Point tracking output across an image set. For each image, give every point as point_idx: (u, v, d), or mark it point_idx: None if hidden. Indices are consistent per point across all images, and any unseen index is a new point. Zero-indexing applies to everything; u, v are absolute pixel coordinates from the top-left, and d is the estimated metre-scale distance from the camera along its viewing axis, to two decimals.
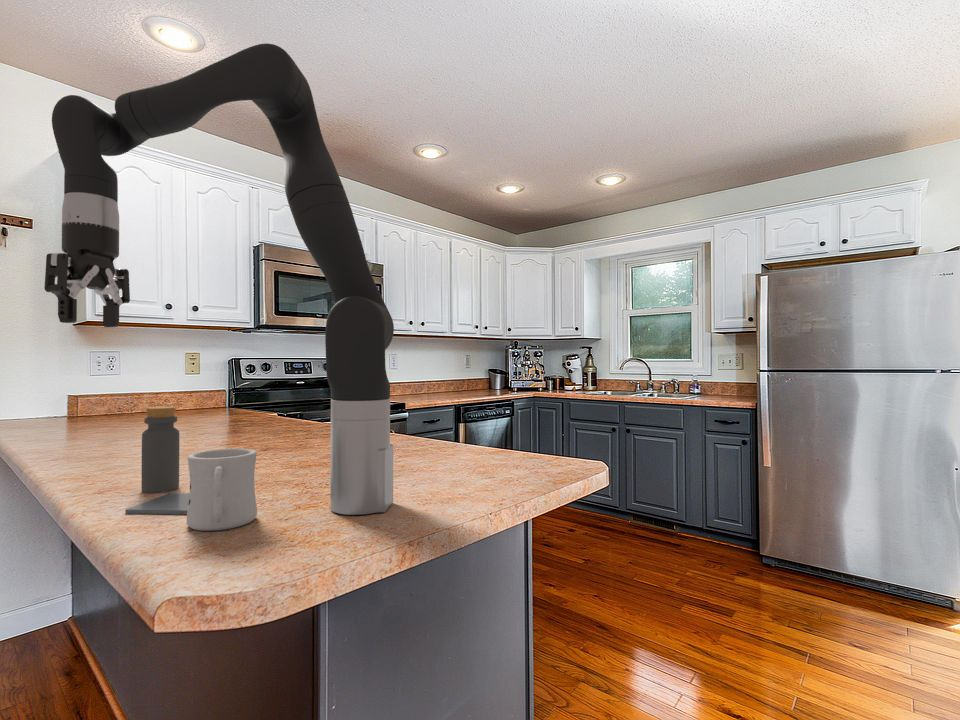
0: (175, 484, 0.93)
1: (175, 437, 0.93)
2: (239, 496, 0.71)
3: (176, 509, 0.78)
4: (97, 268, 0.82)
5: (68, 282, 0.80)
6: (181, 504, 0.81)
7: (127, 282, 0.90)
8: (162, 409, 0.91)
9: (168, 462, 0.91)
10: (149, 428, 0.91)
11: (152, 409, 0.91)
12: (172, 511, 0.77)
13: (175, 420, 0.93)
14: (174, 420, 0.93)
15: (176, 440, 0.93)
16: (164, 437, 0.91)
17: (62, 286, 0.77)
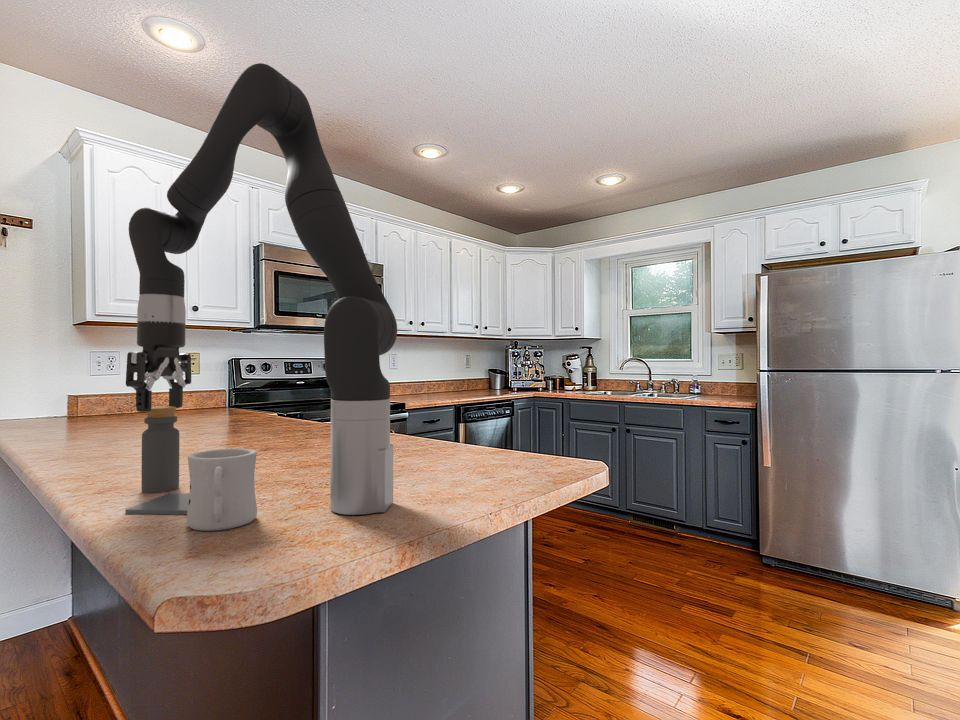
0: (175, 484, 0.93)
1: (175, 437, 0.93)
2: (239, 496, 0.71)
3: (176, 509, 0.78)
4: (167, 359, 0.92)
5: None
6: (181, 504, 0.81)
7: (189, 365, 1.00)
8: (162, 409, 0.91)
9: (168, 462, 0.91)
10: (149, 428, 0.91)
11: (152, 409, 0.91)
12: (172, 511, 0.77)
13: (175, 420, 0.93)
14: (174, 420, 0.93)
15: (176, 440, 0.93)
16: (164, 437, 0.91)
17: (141, 382, 0.86)
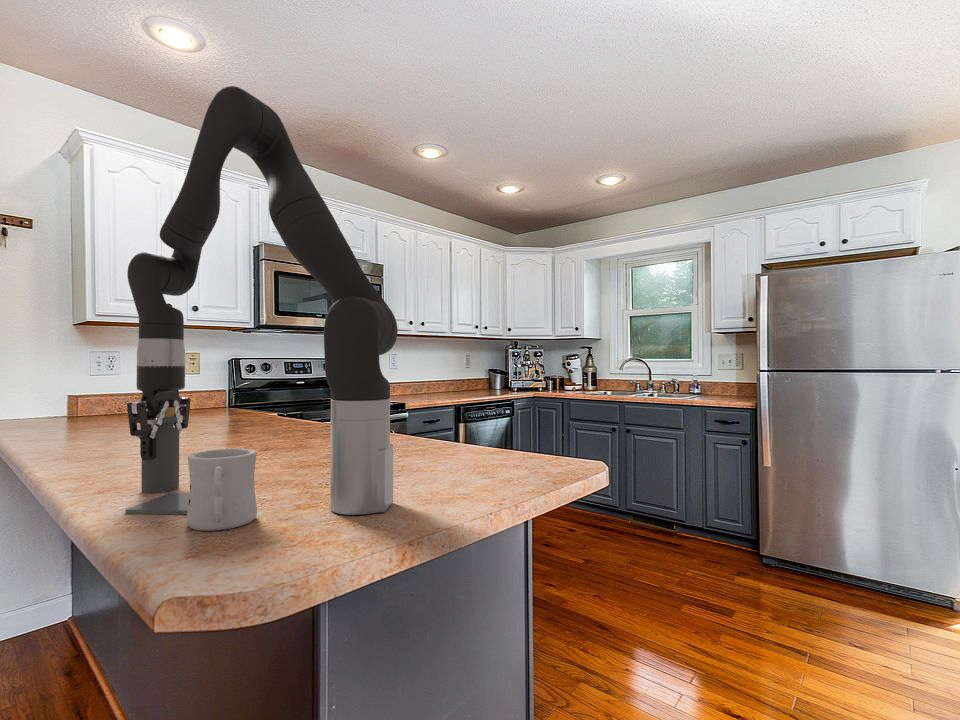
0: (175, 484, 0.93)
1: (175, 437, 0.93)
2: (239, 496, 0.71)
3: (176, 509, 0.78)
4: (167, 403, 0.92)
5: None
6: (181, 504, 0.81)
7: (188, 409, 0.99)
8: None
9: (168, 462, 0.91)
10: (149, 428, 0.91)
11: None
12: (172, 511, 0.77)
13: (175, 420, 0.93)
14: (174, 420, 0.93)
15: (176, 440, 0.93)
16: (164, 437, 0.91)
17: (145, 431, 0.87)
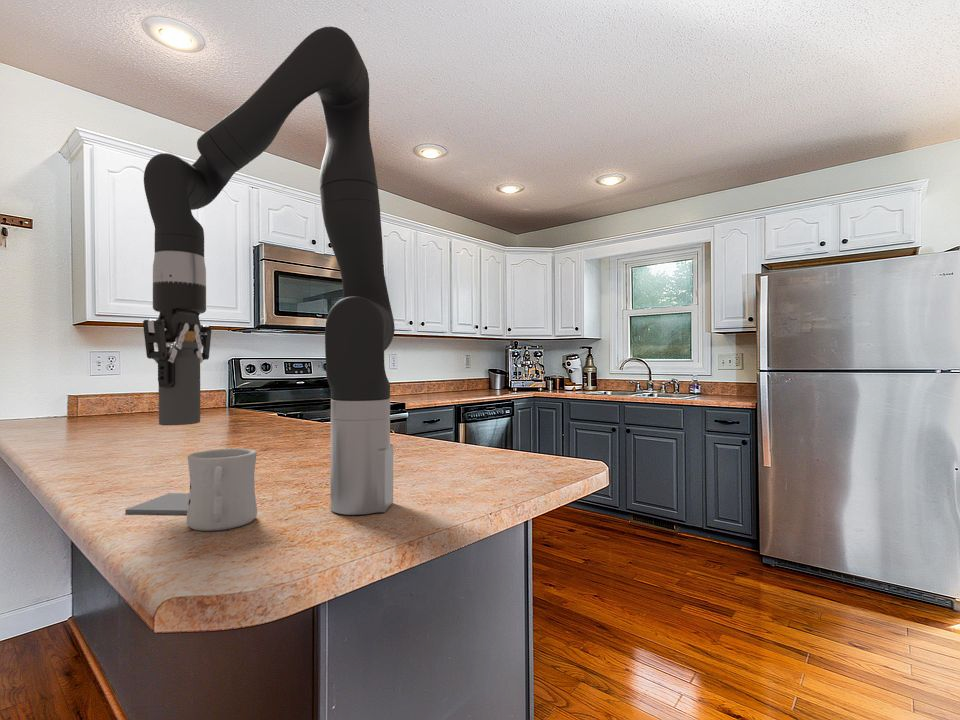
0: (196, 418, 0.82)
1: (196, 364, 0.82)
2: (239, 496, 0.71)
3: (176, 509, 0.78)
4: (187, 325, 0.82)
5: None
6: (181, 504, 0.81)
7: (209, 339, 0.89)
8: None
9: (188, 392, 0.81)
10: (167, 353, 0.81)
11: None
12: (172, 511, 0.77)
13: (195, 346, 0.83)
14: (194, 345, 0.83)
15: (196, 367, 0.83)
16: (184, 363, 0.81)
17: (164, 353, 0.77)
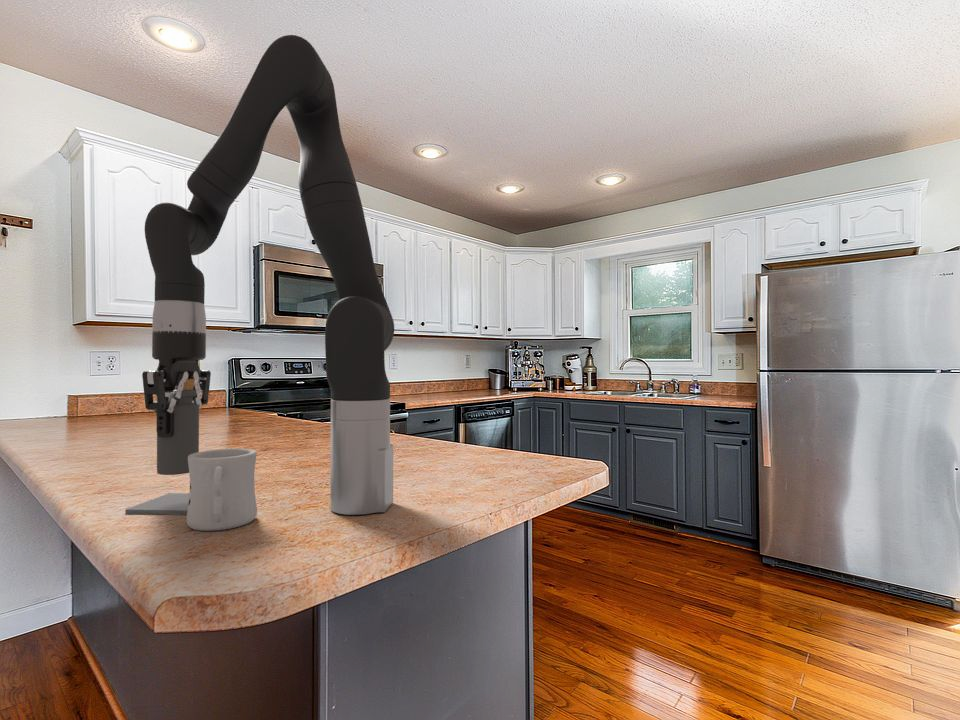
0: None
1: (195, 413, 0.82)
2: (239, 496, 0.71)
3: (176, 509, 0.78)
4: (186, 374, 0.82)
5: None
6: (181, 504, 0.81)
7: (208, 383, 0.89)
8: None
9: (187, 440, 0.81)
10: None
11: None
12: (172, 511, 0.77)
13: (194, 393, 0.83)
14: (193, 393, 0.82)
15: (195, 416, 0.82)
16: (183, 412, 0.81)
17: (163, 404, 0.77)
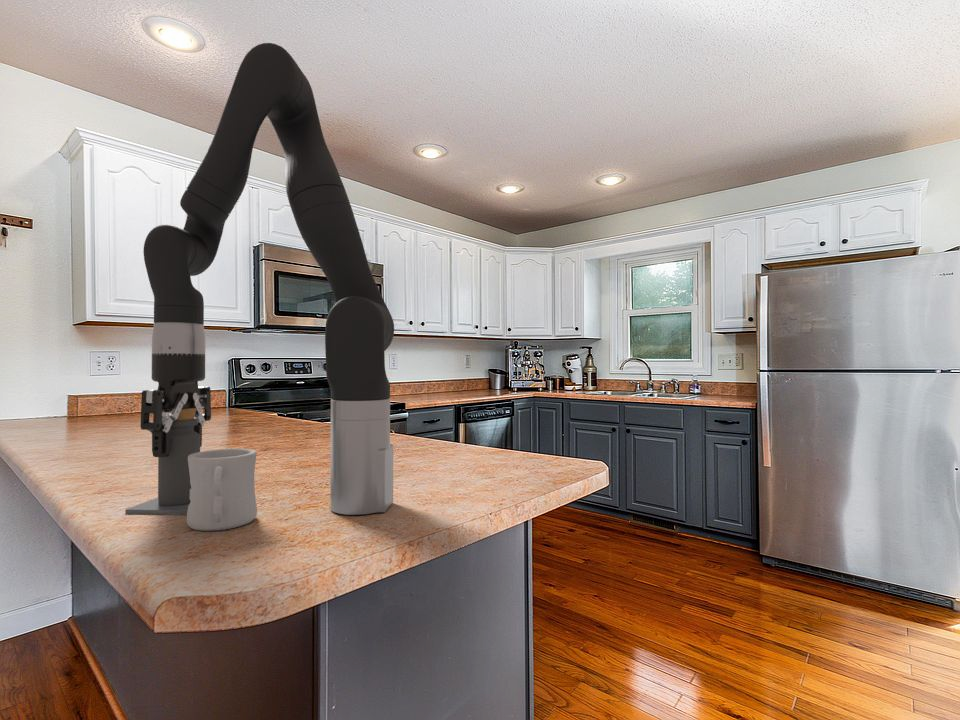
0: None
1: (196, 442, 0.82)
2: (239, 496, 0.71)
3: (176, 509, 0.78)
4: (186, 396, 0.82)
5: None
6: None
7: (209, 399, 0.89)
8: (182, 411, 0.81)
9: (188, 470, 0.81)
10: None
11: None
12: (172, 511, 0.77)
13: (196, 423, 0.83)
14: (195, 423, 0.83)
15: (196, 445, 0.83)
16: (184, 442, 0.81)
17: (158, 424, 0.76)
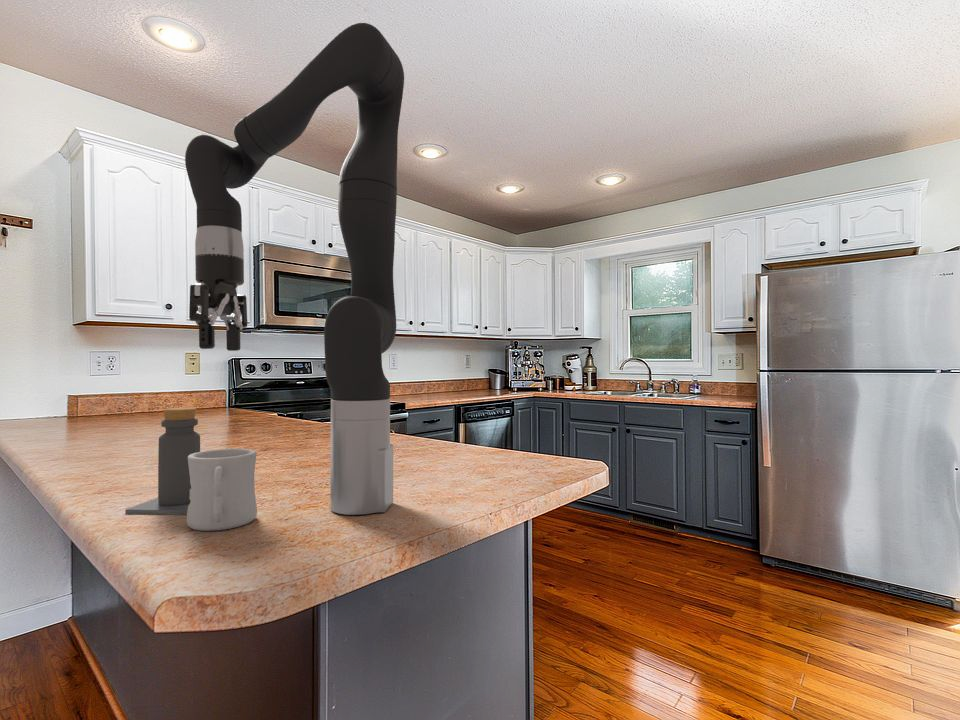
0: None
1: (196, 442, 0.82)
2: (239, 496, 0.71)
3: (176, 509, 0.78)
4: (228, 296, 0.88)
5: None
6: None
7: (245, 307, 0.95)
8: (182, 411, 0.81)
9: (188, 470, 0.81)
10: (167, 432, 0.81)
11: (170, 411, 0.80)
12: (172, 511, 0.77)
13: (196, 423, 0.83)
14: (195, 423, 0.83)
15: (197, 445, 0.83)
16: (184, 442, 0.81)
17: (205, 315, 0.82)
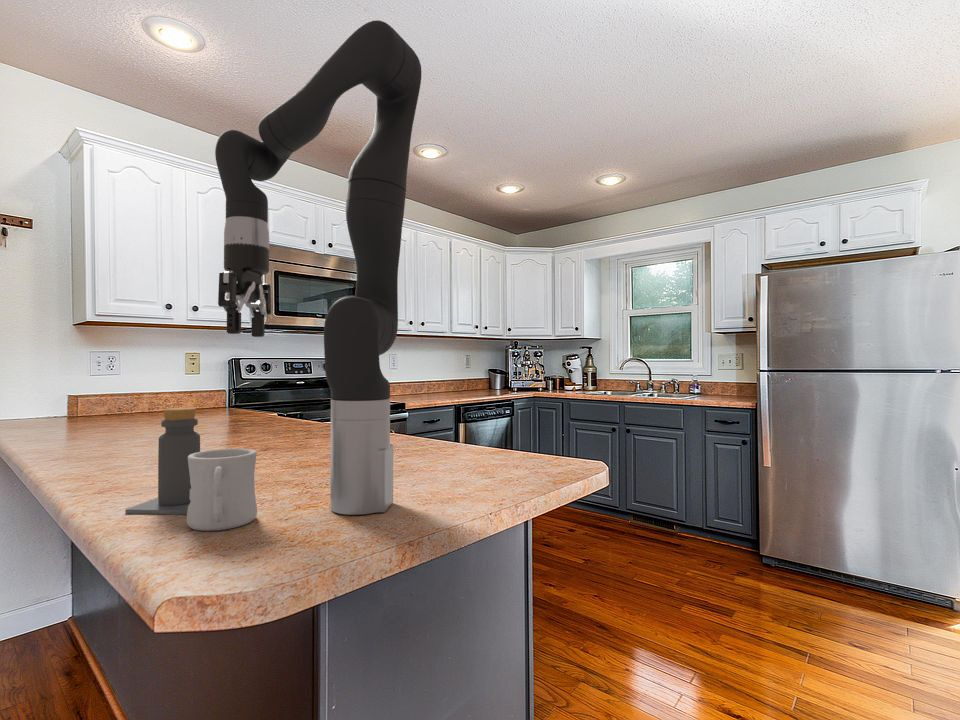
0: None
1: (196, 442, 0.82)
2: (239, 496, 0.71)
3: (176, 509, 0.78)
4: (254, 284, 0.91)
5: None
6: None
7: (269, 295, 0.99)
8: (182, 411, 0.81)
9: (188, 470, 0.81)
10: (167, 432, 0.81)
11: (170, 411, 0.80)
12: (172, 511, 0.77)
13: (196, 423, 0.83)
14: (195, 423, 0.83)
15: (196, 445, 0.82)
16: (184, 442, 0.81)
17: (233, 301, 0.86)
